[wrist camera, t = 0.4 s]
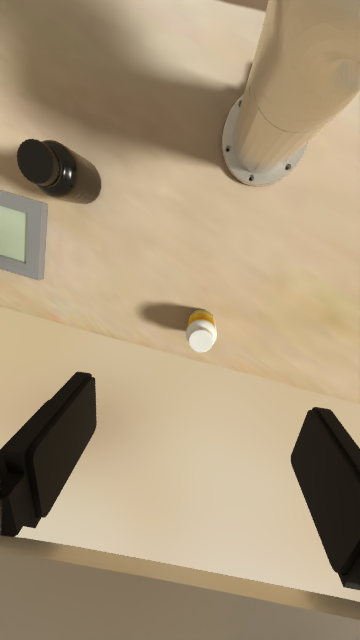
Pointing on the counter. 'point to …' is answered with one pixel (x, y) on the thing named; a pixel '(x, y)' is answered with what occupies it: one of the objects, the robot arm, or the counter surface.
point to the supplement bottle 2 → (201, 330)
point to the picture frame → (22, 235)
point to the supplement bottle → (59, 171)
